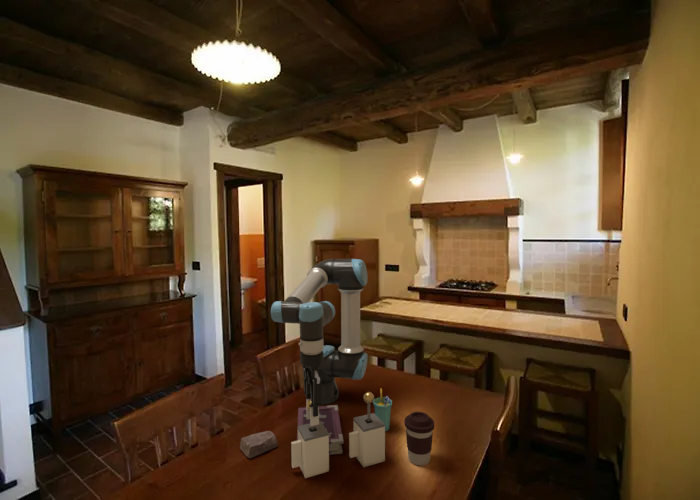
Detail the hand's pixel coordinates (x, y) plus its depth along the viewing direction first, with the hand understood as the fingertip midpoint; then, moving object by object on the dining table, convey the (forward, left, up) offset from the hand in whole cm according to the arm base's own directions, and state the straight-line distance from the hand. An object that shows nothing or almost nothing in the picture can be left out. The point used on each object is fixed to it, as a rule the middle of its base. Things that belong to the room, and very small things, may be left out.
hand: (312, 421), depth 116 cm
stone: (-18, -15, -16) cm, 28 cm away
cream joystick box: (0, -2, -16) cm, 16 cm away
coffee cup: (+11, +34, -16) cm, 39 cm away
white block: (+3, +17, -16) cm, 24 cm away
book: (-17, +8, -16) cm, 25 cm away
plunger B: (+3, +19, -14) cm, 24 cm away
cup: (-10, +32, -16) cm, 37 cm away
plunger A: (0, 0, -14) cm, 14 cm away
